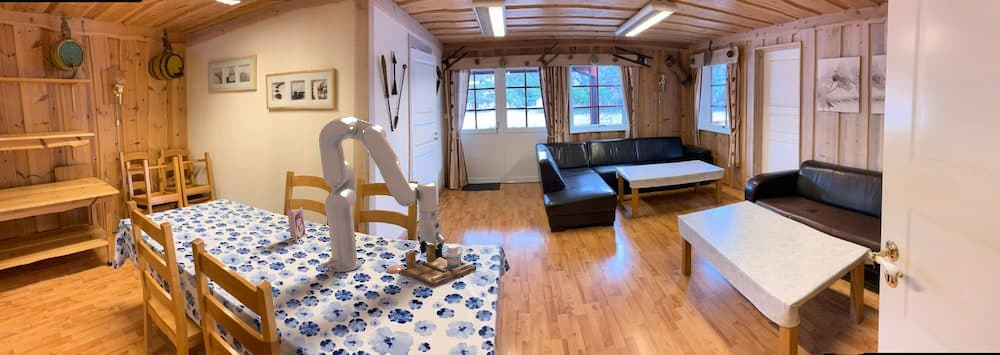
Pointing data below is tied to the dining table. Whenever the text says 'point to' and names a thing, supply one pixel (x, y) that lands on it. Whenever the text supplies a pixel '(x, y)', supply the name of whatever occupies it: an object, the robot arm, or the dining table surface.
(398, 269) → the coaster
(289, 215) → the greeting card
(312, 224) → the dining table surface
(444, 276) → the lane rails
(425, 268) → the tan wooden block
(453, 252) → the pill bottle
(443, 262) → the slat bottle lane
